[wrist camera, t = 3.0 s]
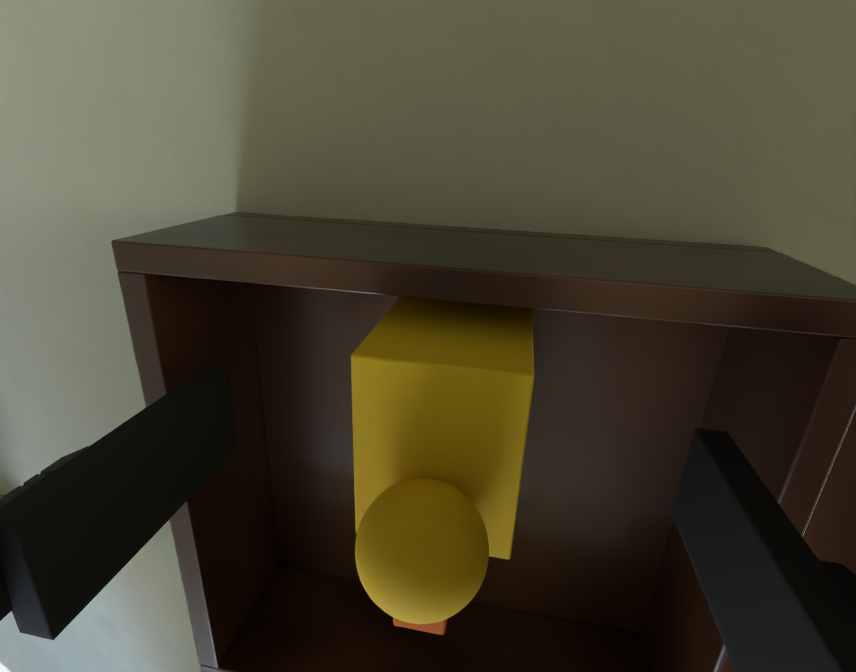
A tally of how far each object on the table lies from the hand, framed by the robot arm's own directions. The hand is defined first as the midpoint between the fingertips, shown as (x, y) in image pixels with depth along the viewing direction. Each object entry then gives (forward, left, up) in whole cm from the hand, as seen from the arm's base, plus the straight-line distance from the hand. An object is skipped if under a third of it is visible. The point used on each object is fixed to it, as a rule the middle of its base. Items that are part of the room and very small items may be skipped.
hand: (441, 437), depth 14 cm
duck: (0, 0, -6) cm, 6 cm away
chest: (+3, +3, -7) cm, 8 cm away
